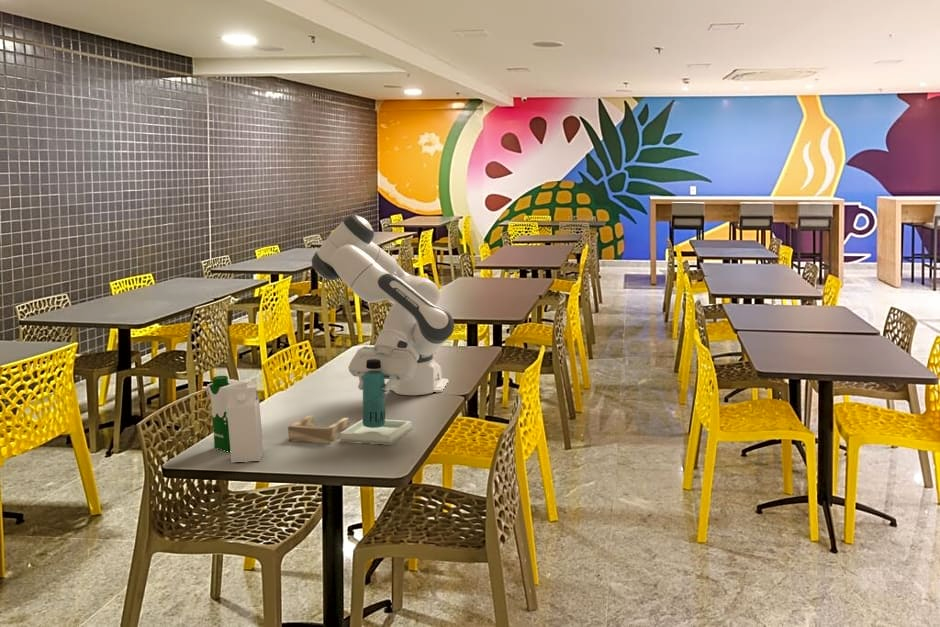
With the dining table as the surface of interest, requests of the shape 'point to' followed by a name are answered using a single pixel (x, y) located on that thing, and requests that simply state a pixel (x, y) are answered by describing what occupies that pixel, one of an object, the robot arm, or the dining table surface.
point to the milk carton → (244, 425)
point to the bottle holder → (316, 431)
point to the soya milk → (221, 408)
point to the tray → (377, 432)
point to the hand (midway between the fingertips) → (373, 390)
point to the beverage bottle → (373, 396)
